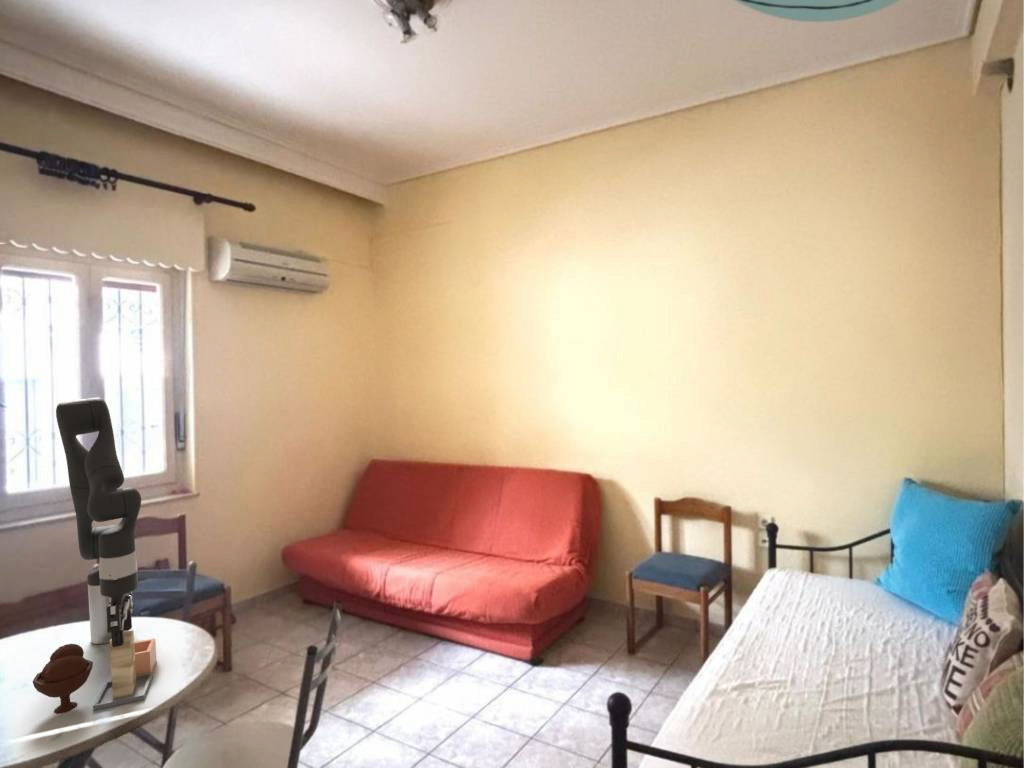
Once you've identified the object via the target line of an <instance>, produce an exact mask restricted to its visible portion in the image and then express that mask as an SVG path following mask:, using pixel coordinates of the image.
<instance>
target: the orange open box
mask: <svg viewBox="0 0 1024 768" xmlns="http://www.w3.org/2000/svg"><path fill="white" fill-rule="evenodd" d="M134 649H135V667H136V675H141V674H146V673H151V672H154V668H155V667H156V664H157V661H158V660H157V645H156V638H151V639H150V638H148V639H144V640H140V641H134Z"/></svg>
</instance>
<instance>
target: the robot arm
mask: <svg viewBox="0 0 1024 768" xmlns="http://www.w3.org/2000/svg"><path fill="white" fill-rule="evenodd" d="M55 417H56V422H57V427H58V431H59V434H60V438H61V442H62V445H63V450H64V453H65V459H66V467H67V473H68V474H67V475H68V482H69V488H70V493H71V497H72V501H73V507H74V512H75V513H74V514H75V517H76V518H75V519H76V529H77V539H78V550H79V554H80V556H81V558H82V559H83V560H84V561H85V560H86V561H92V560H98V561H99V563H98V567H97V568H95V569H93V570H92V571H90V572H89V573H88V574H87V594H88V611H89V627H90V628H89V630H90V642H91V643H92V644H94V645H103V643H104V644H110V640H111V638H112V647H118V646H122V645H123V643H124V636H123V632H126V631H131V630H132V627H133V623H132V622H133V621H132V619H133V618H132V613H133V612H134V610H133V608H134V607H135V604H134V603H135V602H134V592H135V590H137V588H138V587H139V578H138V577H139V576H138V559H137V554H136V543H135V542H136V540H135V531H136V525H137V522H138V516H139V514H140V511H141V507H142V495H141V493H140V492H139V490H137V489H136V488H135V487H124V488H121V487H122V486H123V484H124V482H125V476H124V473H123V470H122V468H121V467H122V466H121V464H120V461H119V459H118V455H117V449H116V441H115V434H114V429H113V424H112V418H111V413H110V410H109V406H108V404H107V403H106V401H105V400H104V398H101V397H90V398H88V397H87V398H83V399H82V398H81V399H75V400H67V401H63V402H60V403H57V405H56V408H55ZM92 433H98V434H97V437H96V440H95V441H94V443H93V445H92V446H90V449H89V451H88V449H86V448H85V446H84V445H83V444H82V443H81V442H80V441H79V439H78V437H77V436H81V435H87V434H92ZM120 519H121V521H120V522H119V523H117V524H111V525H103V526H101V525H100V526H95V527H94V526H93V525H92V524H93V522H97V523H103V522H109V521H113V520H120Z"/></svg>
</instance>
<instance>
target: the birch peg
mask: <svg viewBox="0 0 1024 768" xmlns="http://www.w3.org/2000/svg"><path fill="white" fill-rule="evenodd" d="M134 632H135V631H134V630H132V629H131V630H129V631H126V632H123V636H124V643H123V645H122V646H118V647H112V638H111V640H110V642H109V651H110V652H109V653H110V669H111V670H110V673H111V681H112V692H113V698H117V697H122V696H127V695H132V694H133V692H134V690H135V688H136V667H135V649H134V642H135V634H134Z"/></svg>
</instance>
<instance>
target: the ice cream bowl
mask: <svg viewBox="0 0 1024 768" xmlns="http://www.w3.org/2000/svg"><path fill="white" fill-rule="evenodd" d="M84 653H85V651H84V649H83V647H82V646H80V645H79V644H75V643H68V644H64V645H62V646H61V645H60V646H59V647H58V648H56V650H54V652H52V654H50V656H49V661H48V662H47V663H46V664H45V665H44V667H42V670H41V671H40V672H38V673H37V674H35V677H34V678H33V680H31V681H32V684H33V687H34V689H35V691H37V692H38V693H40V694H42V695H44V696H47V697H49V698H59V699H60V705H59V706H57V707H56V708H54V710H53V714H56V715H60V714H65V713H68V712H71V711H73V710H74V709H75V708H77V707H78V705H79V703H78V702H76V701H71V694H72V693H74V692H76V691H77V690H79V689H80V688H81V687H83V685H84V684H85V683H86V682H87V681H88V679H89V677H90V675H91V672H92V671H93V665H94V662H93V661H91V660H88V659H87V658H85V657H84Z"/></svg>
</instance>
